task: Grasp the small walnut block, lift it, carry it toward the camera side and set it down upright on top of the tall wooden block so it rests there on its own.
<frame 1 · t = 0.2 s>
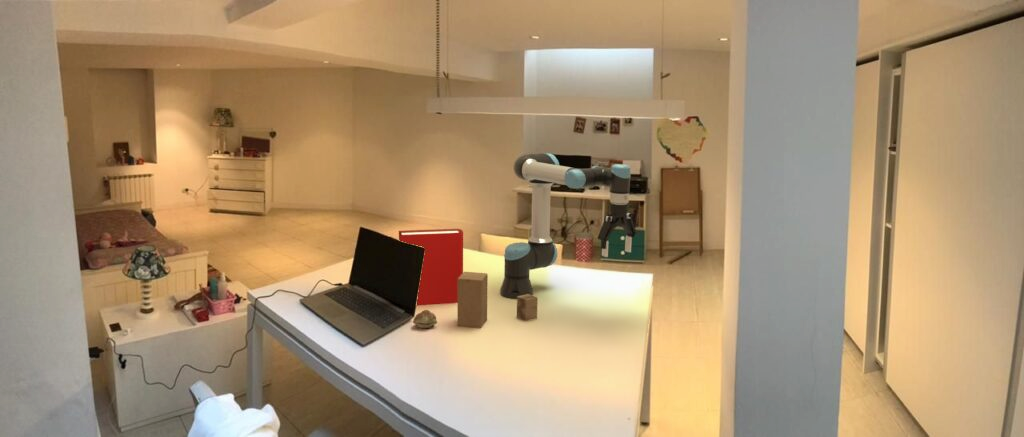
hand: (616, 254, 256), 28 cm above the table, fingers open, 13 cm apart
seashell: (425, 327, 248), on the table
walnut block: (526, 317, 261), on the table
wooden block: (472, 323, 254), on the table
book: (431, 302, 279), on the table
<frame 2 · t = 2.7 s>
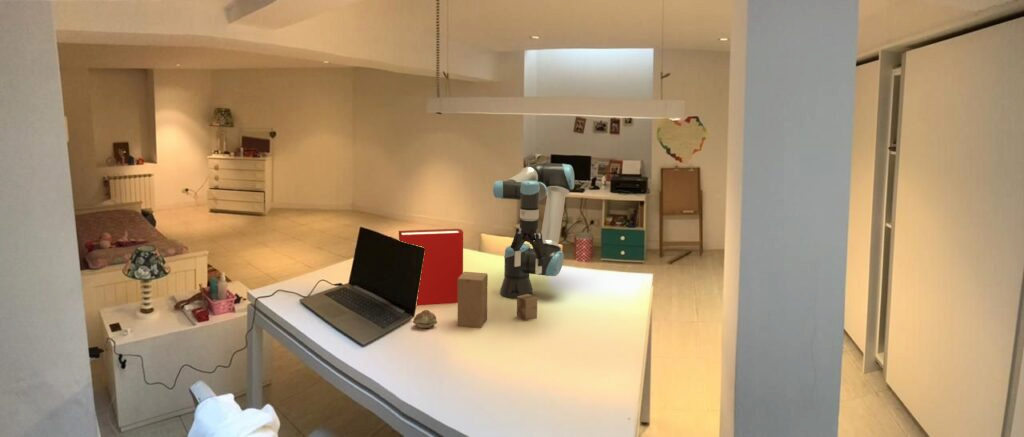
hand: (527, 269, 257), 21 cm above the table, fingers open, 13 cm apart
nothing on the table moved.
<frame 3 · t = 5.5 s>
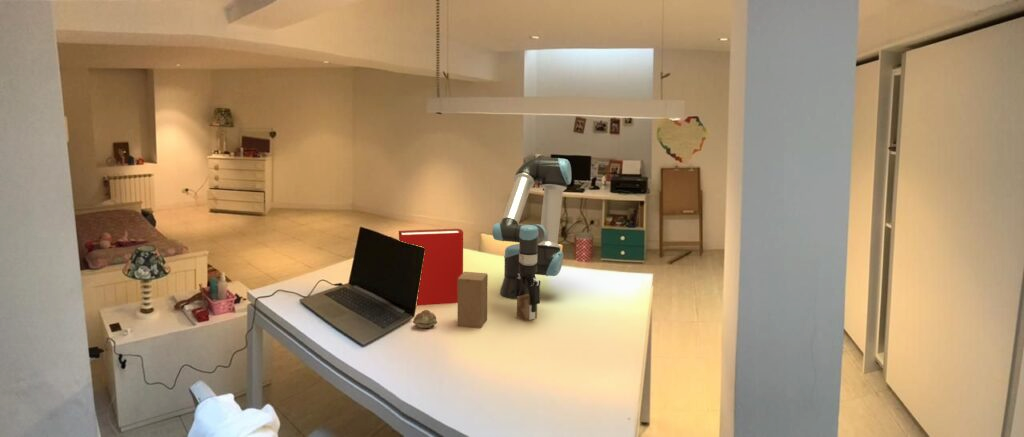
hand: (526, 316, 261), 0 cm above the table, fingers closed on walnut block, 6 cm apart
walnut block: (526, 317, 261), on the table, touching gripper
everything else where it was.
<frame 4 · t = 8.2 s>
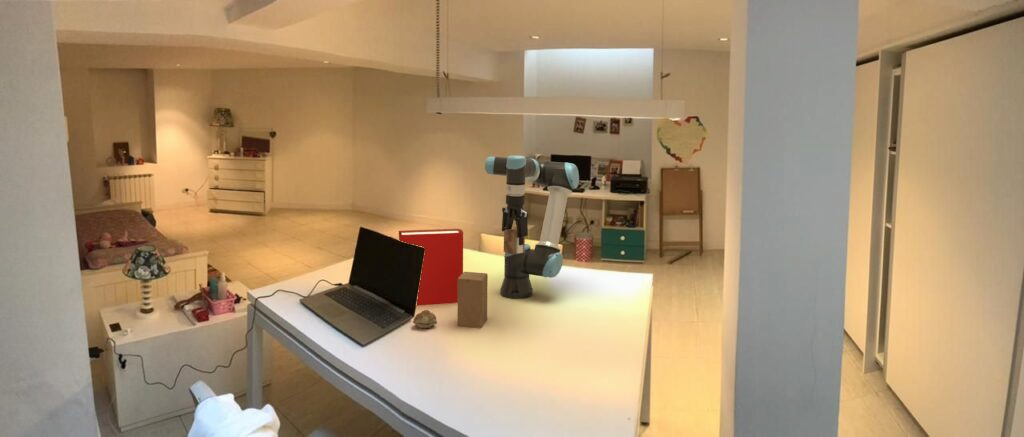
hand: (514, 251, 253), 29 cm above the table, fingers closed on walnut block, 6 cm apart
walnut block: (514, 252, 253), point 29 cm above the table, touching gripper
everything else where it was.
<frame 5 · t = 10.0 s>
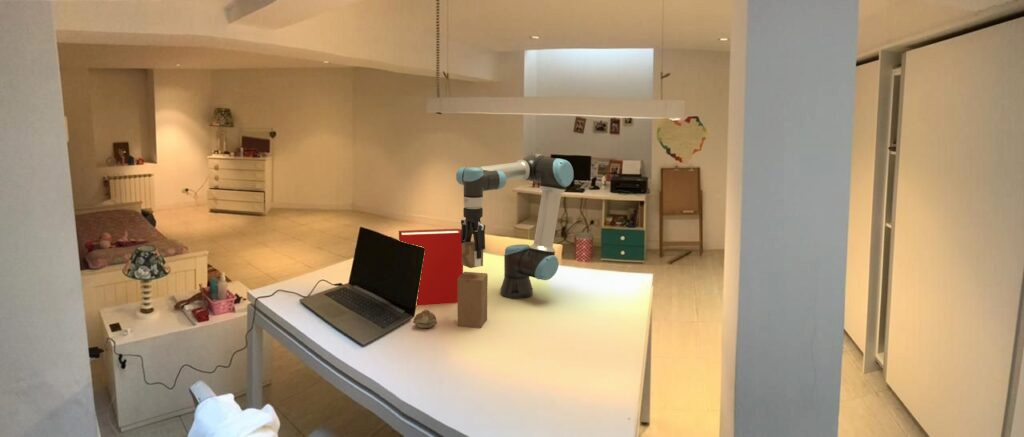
hand: (472, 264, 249), 25 cm above the table, fingers closed on walnut block, 6 cm apart
walnut block: (472, 265, 249), point 24 cm above the table, touching gripper
everything else where it was.
when the fingers open (22 cm above the table, at t = 11.2 s): walnut block drops 1 cm, resting on wooden block.
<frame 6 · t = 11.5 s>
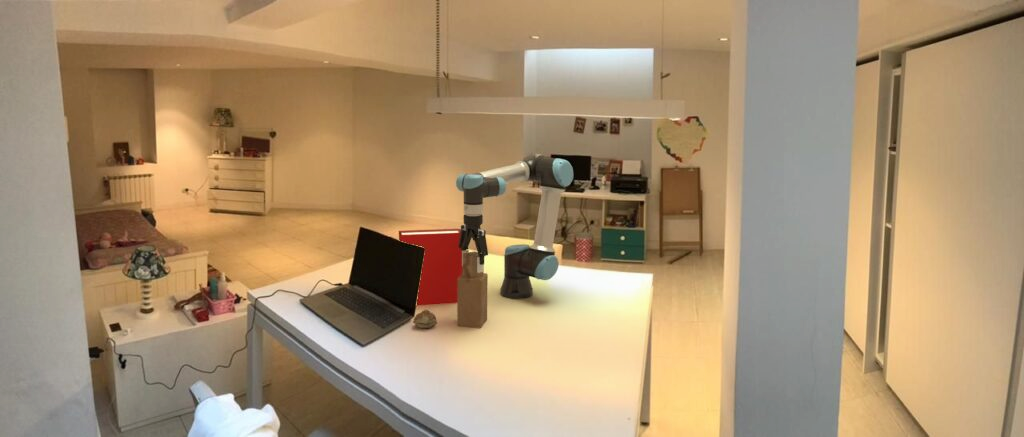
hand: (472, 269, 249), 23 cm above the table, fingers open, 10 cm apart
walnut block: (473, 275, 250), point 20 cm above the table, touching wooden block
wooden block: (472, 323, 254), on the table, touching walnut block
everything else where it was.
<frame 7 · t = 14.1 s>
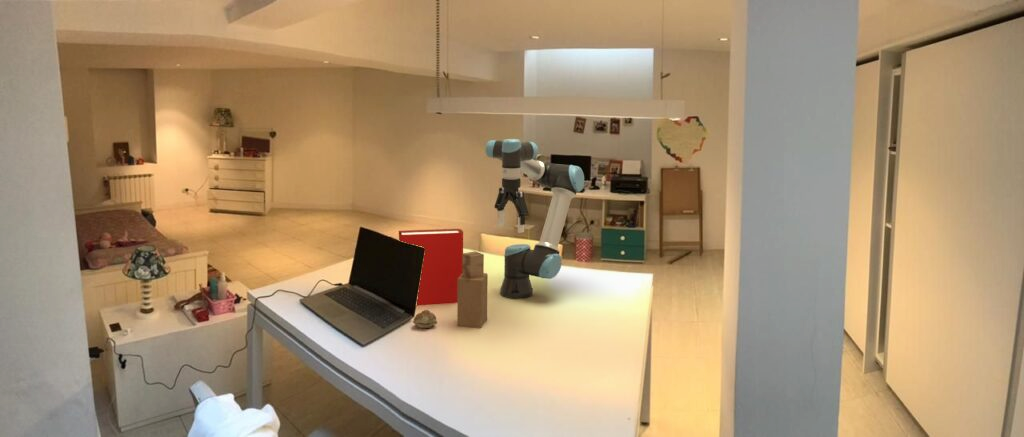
hand: (511, 229, 256), 37 cm above the table, fingers open, 13 cm apart
nothing on the table moved.
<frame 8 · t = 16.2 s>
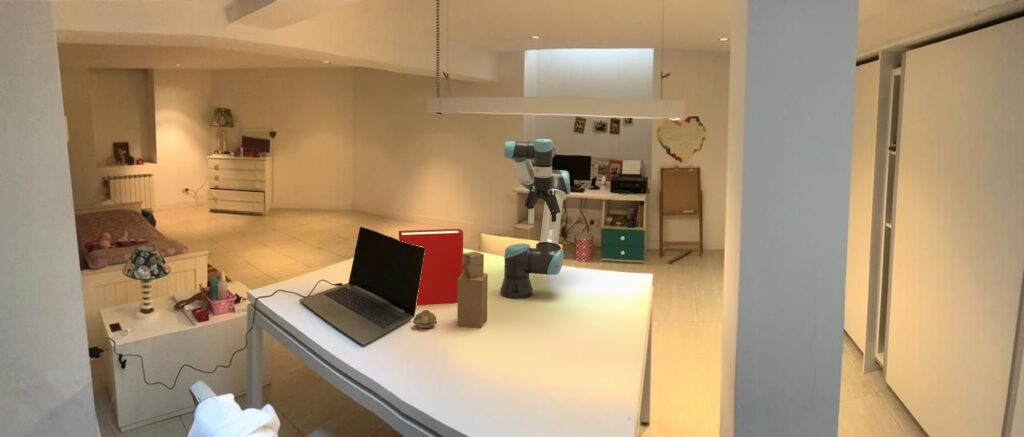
hand: (541, 226, 264), 37 cm above the table, fingers open, 13 cm apart
nothing on the table moved.
at the end: walnut block 0.2 cm from the wooden block (horizontally); walnut block point 20.0 cm above the table; walnut block tilted 0° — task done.
